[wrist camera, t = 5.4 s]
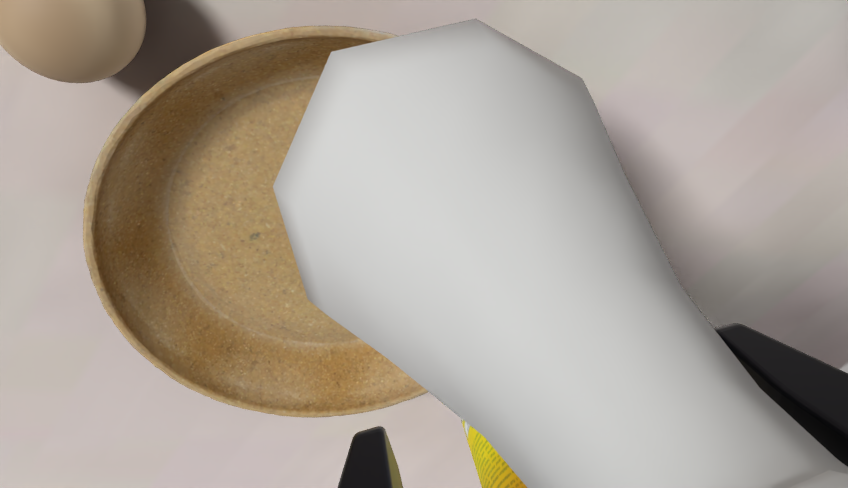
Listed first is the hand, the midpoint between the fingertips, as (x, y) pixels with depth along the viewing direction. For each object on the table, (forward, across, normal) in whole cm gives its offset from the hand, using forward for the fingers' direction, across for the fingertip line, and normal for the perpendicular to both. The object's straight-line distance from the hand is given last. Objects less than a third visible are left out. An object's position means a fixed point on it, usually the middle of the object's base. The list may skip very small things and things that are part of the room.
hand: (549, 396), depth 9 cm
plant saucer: (+14, +3, +4) cm, 15 cm away
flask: (+6, 0, 0) cm, 6 cm away
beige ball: (+12, +8, -5) cm, 15 cm away
